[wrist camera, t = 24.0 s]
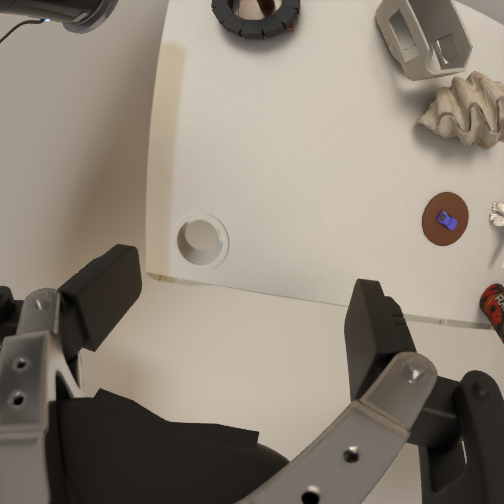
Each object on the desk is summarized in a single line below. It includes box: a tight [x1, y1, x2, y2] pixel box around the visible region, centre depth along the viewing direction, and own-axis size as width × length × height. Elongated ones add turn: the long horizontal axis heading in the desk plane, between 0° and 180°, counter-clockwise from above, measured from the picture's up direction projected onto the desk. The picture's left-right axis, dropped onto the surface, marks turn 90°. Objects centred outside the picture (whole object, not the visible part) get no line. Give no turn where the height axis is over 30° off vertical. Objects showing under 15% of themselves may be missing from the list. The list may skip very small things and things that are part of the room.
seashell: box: [416, 71, 504, 149], centre depth 25 cm, size 10×15×10 cm
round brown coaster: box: [422, 192, 469, 246], centre depth 35 cm, size 8×8×2 cm
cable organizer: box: [376, 0, 473, 81], centre depth 22 cm, size 7×12×12 cm, turn 20°
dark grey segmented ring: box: [211, 0, 300, 39], centre depth 26 cm, size 10×10×2 cm
